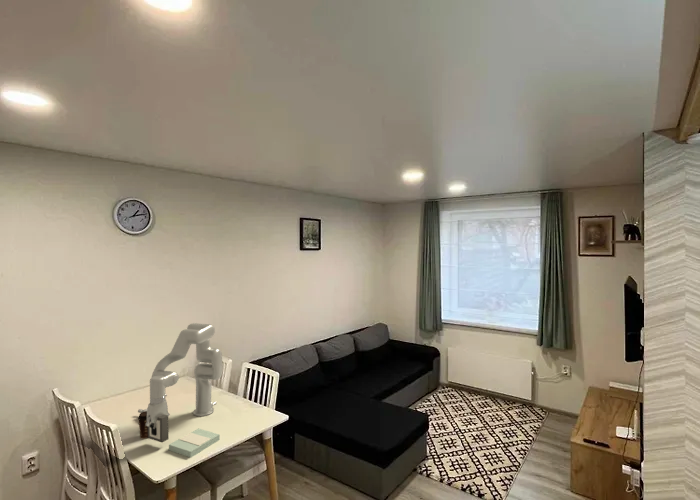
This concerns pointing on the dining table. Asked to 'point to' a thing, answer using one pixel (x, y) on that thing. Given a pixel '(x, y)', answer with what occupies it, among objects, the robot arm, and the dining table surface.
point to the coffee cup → (143, 425)
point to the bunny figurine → (142, 410)
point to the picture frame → (160, 429)
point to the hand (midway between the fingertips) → (158, 432)
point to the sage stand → (194, 442)
